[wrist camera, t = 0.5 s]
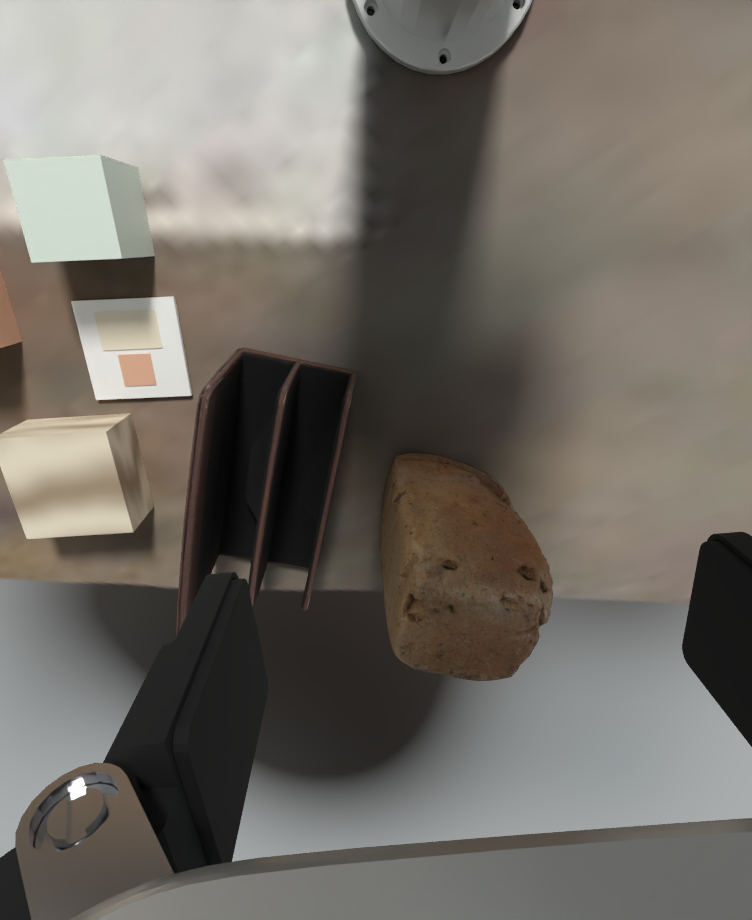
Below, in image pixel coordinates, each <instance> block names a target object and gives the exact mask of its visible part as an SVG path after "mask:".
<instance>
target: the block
mask: <svg viewBox="0 0 752 920" xmlns="http://www.w3.org/2000/svg"><path fill="white" fill-rule="evenodd" d="M380 549H381V566H382V578H383V592H384V605H385V612H386V621H387V628H388V633H389V638H390V642H391V645H392V648H393V651H394V653H395V655H396V656H397V657H398V658H399V659H400V660H401V661H402V662H404V663H406V664H407V665H408V666H410V667H411V668H413V669H416V670H420V671H426V672H430V673H437V674H444V675H448V676H451V677H455V678H460V679H467V680H476V681H490V680H498V679H503V678H509V677H512V675H513V674H514V673H515V672H516V671H517V670H518V668H519V666H520V665H521V664H522V663H523V662H524V661H525V660H526V659H527V658H528V657H529V656H530V654H531V652H532V651H533V649H534V647H535V645H536V644H537V642H538V639H539V632H538V629H539V626H541V625H543V624H545V623H547V621H548V619H549V616H550V608H551V605H552V597H553V591H552V583H553V582H552V578H551V575H550V573H549V565H548V563H547V561H546V559H545V557H544V555H543V554H542V552H541V550H540V547H539V545H538V543H537V541H536V539H535V538H534V536H533V535H532V533H531V532H530V530H529V529H528V527H527V525H526V524H525V522H524V521H523V520H522V519H521V518H520V517H519V516H518V514H517V512H515V511H514V510H513V506H512V503H511V501H510V499H509V497H508V495H507V494H506V493H505V491H504V489H503V487H502V486H501V485H500V484H499V483H498V482H497V480H495V479H494V478H493V477H492V476H490V475H487V474H485V473H484V472H482V471H480V470H478V469H476V468H474V467H472V466H469V465H467V464H464V463H461V462H458V461H455V460H452V459H449V458H445V457H442V456H437V455H431V454H424V453H422V454H418V453H406V454H402V455H398V456H397V457H396V458H395V459H394V461H393V464H392V466H391V469H390V471H389V474H388V478H387V483H386V486H385V492H384V498H383V507H382V516H381V533H380Z"/></svg>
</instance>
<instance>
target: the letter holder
mask: <svg viewBox="0 0 752 920" xmlns="http://www.w3.org/2000/svg"><path fill="white" fill-rule="evenodd" d="M355 381H356V372H355V371H352V370H347V369H343V368H338V367H332V366H327V365H323V364H318V363H314V362H309V361H304V360H299V359H295V358H290V357H286V356H281V355H276V354H272V353H267V352H262V351H257V350H252V349H246V348H241V349H240V348H239V349H237V350H236V351H235V352H234V353H233V355H232V356H231V357H230V358H229V359H228V360H227V361H226V363H225V364H223V365H222V366H221V367H220V369H219V370H218V371H217V372H216V374H215V375H214V377H213V378H212V379H211V380H210V381H209V382H208V383H207V385H206V386H205V387H204V388H203V389H202V390H201V393H200V395H199V398H198V403H197V409H196V418H195V429H194V436H193V445H192V453H191V462H190V470H189V479H188V489H187V498H186V507H185V517H184V528H183V539H182V552H181V563H180V577H179V592H178V604H177V628H176V635H178V633H179V631H180V629H181V626H182V624H183V622H184V620H185V618H186V616H187V614H188V612H189V610H190V608H191V606H192V603H193V601H194V599H195V597H196V595H197V593H198V591H199V589H200V587H201V585H202V582H203V580H204V578H205V577H206V575H208V574H211V572H212V569H213V567H214V565H215V562H216V560H217V558H218V556H219V555H226V556H234V557H240V558H246V559H251V568H250V576H249V584H248V587H249V592H250V597H251V602H252V607H253V611H254V609H255V605H256V601H257V598H258V594H259V590H260V587H261V583H262V580H263V577H264V573H265V569H266V566H267V563H274V564H281V565H288V566H294V567H300V568H305V569H309V572H308V577H307V582H306V586H305V591H304V595H303V600H302V604H301V608H302V609H303V610H304V611H306V610H307V609H308V605H309V601H310V596H311V592H312V587H313V582H314V577H315V572H316V568H317V563H318V558H319V554H320V549H321V545H322V540H323V534H324V530H325V525H326V520H327V515H328V510H329V506H330V500H331V495H332V491H333V486H334V480H335V476H336V471H337V466H338V462H339V457H340V452H341V448H342V443H343V437H344V433H345V428H346V423H347V418H348V413H349V408H350V404H351V400H352V394H353V391H354V385H355Z"/></svg>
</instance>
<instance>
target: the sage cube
mask: <svg viewBox="0 0 752 920" xmlns="http://www.w3.org/2000/svg"><path fill="white" fill-rule="evenodd" d="M3 161H4V164H5V168H6V172H7V175H8V179H9V183H10V186H11V190H12V193H13V197H14V201H15V204H16V208H17V211H18V215H19V219H20V222H21V226H22V230H23V233H24V237H25V240H26V244H27V248H28V251H29V255H30V259H31V262H55V261H78V260H101V259H123V258H137V257H150V256H155V254H154V249H153V244H152V239H151V233H150V228H149V223H148V218H147V212H146V207H145V202H144V196H143V191H142V186H141V181H140V175H139V170H138V167H135V166H132V165H129V164H126V163H123V162H120V161H117V160H114V159H111V158H108V157H104V156H101V155H89V156H66V157H43V158H19V159H3Z"/></svg>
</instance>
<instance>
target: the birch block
mask: <svg viewBox="0 0 752 920" xmlns="http://www.w3.org/2000/svg"><path fill="white" fill-rule="evenodd" d="M0 467H1V470H2V472H3V475H4V478H5V480H6V483H7V486H8V489H9V491H10V494H11V497H12V500H13V502H14V505H15V508H16V510H17V513H18V516H19V519H20V521H21V524H22V527H23V530H24V532H25V535H26V538H27V539H36V538H52V537H68V536H84V535H99V534H115V533H131V532H134V531H135V530H136V528H137V527H138V526H139V525H140V523H141V522H142V521H143V520H144V518H145V517H146V516H147V515H148V513H149V512H150V511H151V509H152V508H153V507H154V503H153V499H152V495H151V491H150V487H149V483H148V479H147V475H146V471H145V467H144V463H143V460H142V456H141V452H140V448H139V444H138V440H137V436H136V432H135V428H134V424H133V420H132V416H131V413H128V414H112V415H96V416H80V417H65V418H49V419H33V420H26V421H24V422H22V423H20V424H18V425H16V426H14V427H12V428H10V429H9V430H7V431H5V432H3V433H1V434H0Z"/></svg>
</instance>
